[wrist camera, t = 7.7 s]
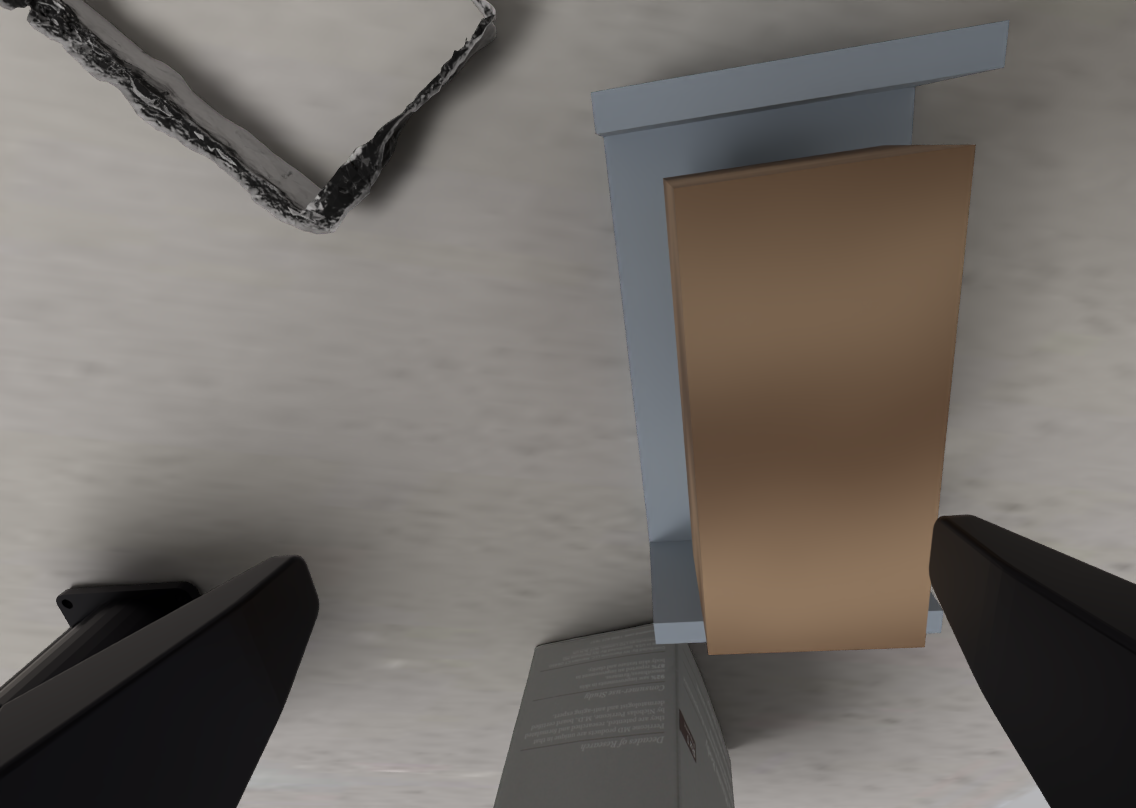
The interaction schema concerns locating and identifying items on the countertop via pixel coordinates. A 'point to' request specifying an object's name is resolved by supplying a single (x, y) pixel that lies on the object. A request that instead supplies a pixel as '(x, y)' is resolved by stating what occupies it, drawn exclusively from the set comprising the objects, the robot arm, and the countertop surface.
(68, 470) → the countertop surface
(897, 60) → the peg stand
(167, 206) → the countertop surface
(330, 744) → the countertop surface
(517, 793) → the skincare box
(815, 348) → the brown rectangular block
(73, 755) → the robot arm
